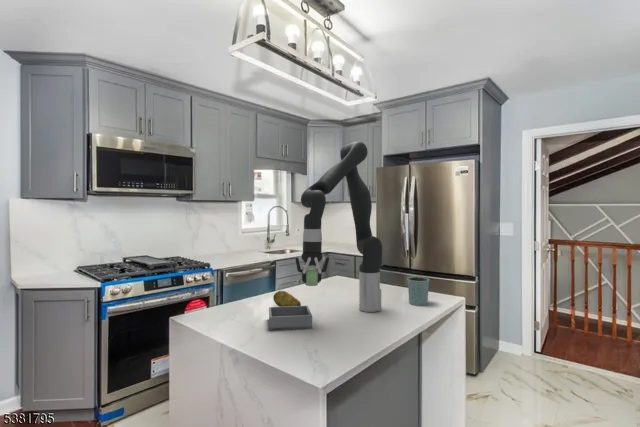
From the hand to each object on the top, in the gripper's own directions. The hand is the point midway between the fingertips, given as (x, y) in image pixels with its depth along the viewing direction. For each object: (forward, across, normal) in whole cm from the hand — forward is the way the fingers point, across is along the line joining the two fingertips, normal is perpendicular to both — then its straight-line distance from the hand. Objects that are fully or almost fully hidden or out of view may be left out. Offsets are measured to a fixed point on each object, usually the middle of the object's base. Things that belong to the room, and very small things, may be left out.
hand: (311, 282), depth 144 cm
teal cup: (+15, -55, -20) cm, 60 cm away
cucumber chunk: (+1, 0, 0) cm, 1 cm away
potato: (+16, +8, -20) cm, 27 cm away
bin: (+16, +8, 0) cm, 18 cm away
